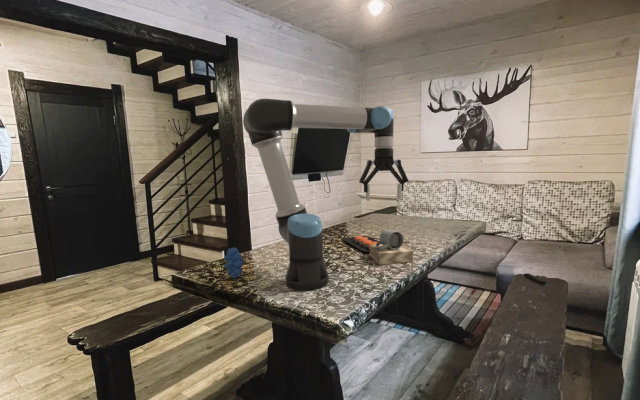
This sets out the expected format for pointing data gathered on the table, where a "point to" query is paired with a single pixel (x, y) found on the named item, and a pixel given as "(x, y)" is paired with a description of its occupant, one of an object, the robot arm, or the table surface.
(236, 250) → the grapes
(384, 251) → the birch block
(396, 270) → the table surface
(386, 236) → the ceramic mug
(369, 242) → the sushi plate
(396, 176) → the robot arm
